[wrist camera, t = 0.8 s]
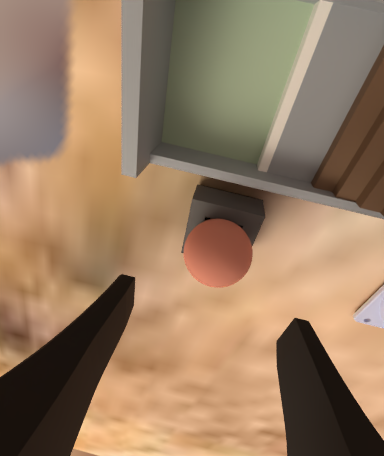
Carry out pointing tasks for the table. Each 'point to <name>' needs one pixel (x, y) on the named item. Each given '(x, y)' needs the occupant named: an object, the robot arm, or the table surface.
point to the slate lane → (244, 87)
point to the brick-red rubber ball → (218, 253)
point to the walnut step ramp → (359, 148)
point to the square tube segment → (225, 210)
